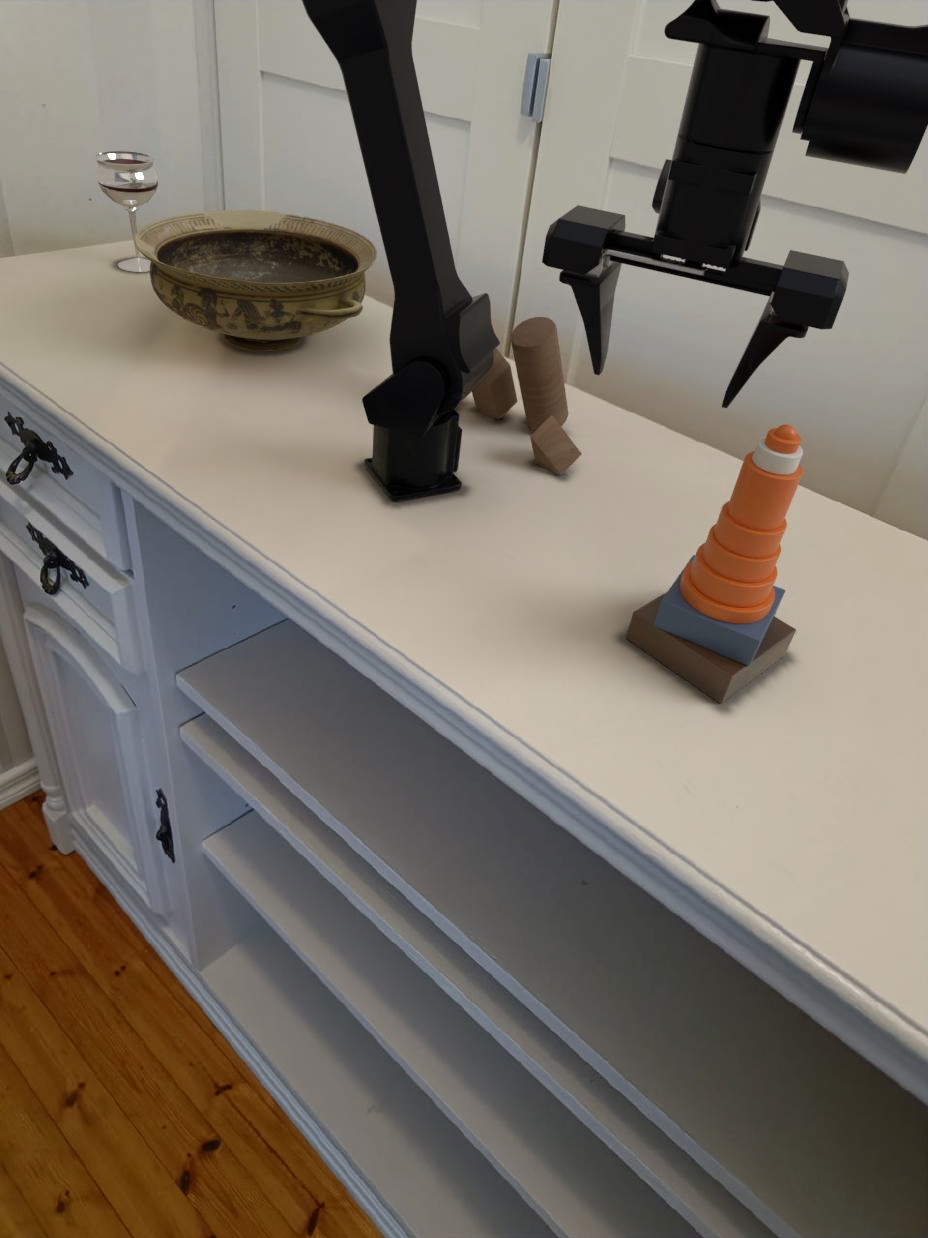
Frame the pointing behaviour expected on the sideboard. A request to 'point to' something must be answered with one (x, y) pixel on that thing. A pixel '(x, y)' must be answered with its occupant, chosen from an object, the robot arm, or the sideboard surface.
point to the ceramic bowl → (257, 273)
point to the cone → (747, 535)
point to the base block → (706, 654)
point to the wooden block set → (533, 391)
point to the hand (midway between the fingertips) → (660, 389)
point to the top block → (713, 626)
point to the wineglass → (128, 189)
